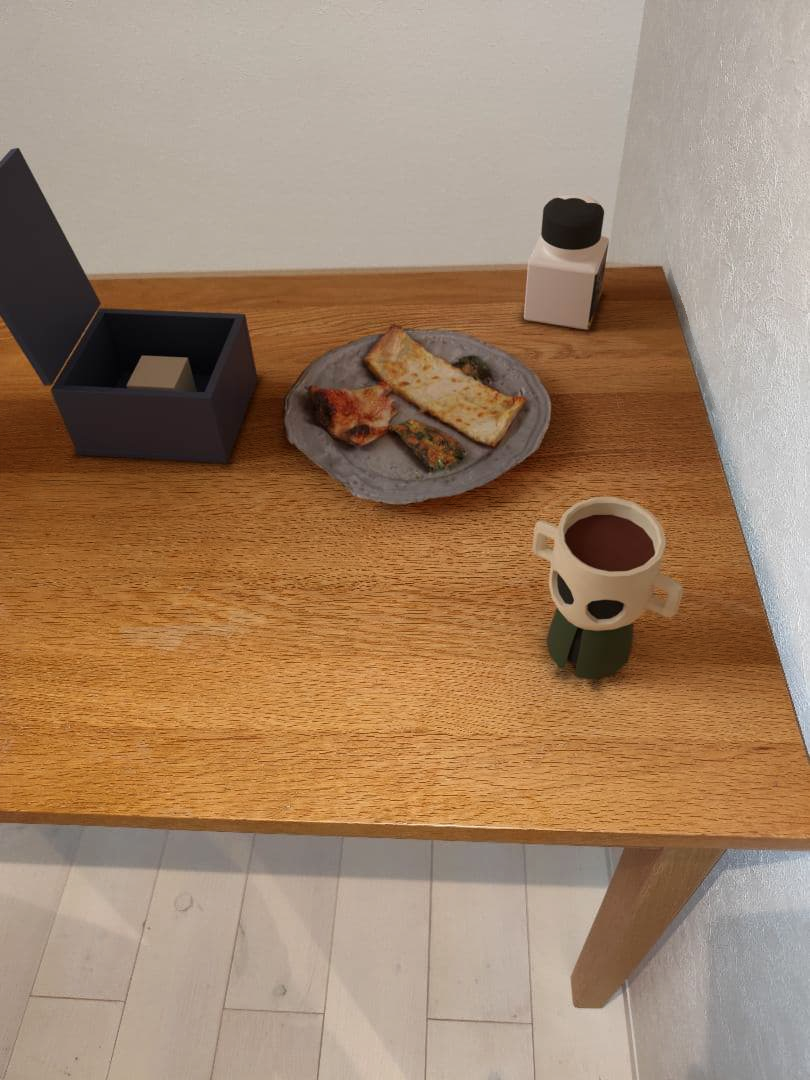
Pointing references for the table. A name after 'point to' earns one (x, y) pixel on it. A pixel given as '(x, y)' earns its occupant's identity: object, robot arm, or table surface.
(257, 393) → the table surface
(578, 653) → the character mug
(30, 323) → the lid
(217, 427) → the case
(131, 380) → the cube block
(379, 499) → the food plate
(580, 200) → the medicine bottle
